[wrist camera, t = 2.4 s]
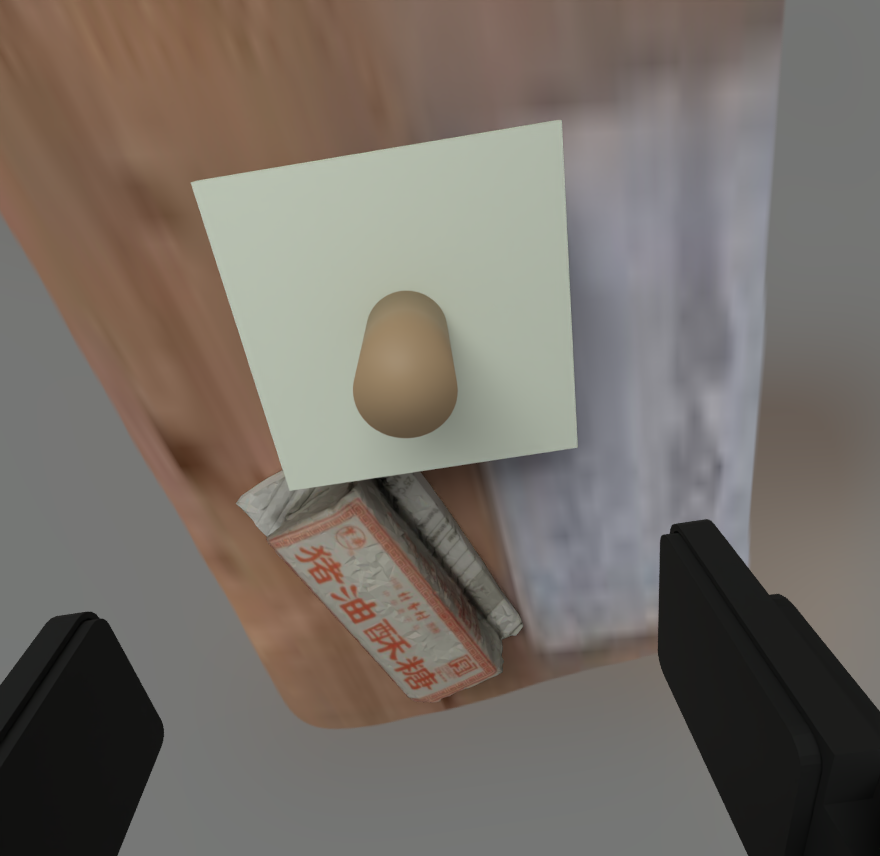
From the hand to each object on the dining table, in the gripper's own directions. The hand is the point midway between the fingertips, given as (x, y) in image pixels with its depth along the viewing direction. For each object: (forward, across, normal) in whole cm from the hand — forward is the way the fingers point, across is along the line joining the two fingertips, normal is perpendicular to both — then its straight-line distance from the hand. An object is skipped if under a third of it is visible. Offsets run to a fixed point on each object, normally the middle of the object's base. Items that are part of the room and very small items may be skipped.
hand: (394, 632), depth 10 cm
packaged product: (+23, +4, +16) cm, 28 cm away
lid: (+16, 0, 0) cm, 16 cm away
